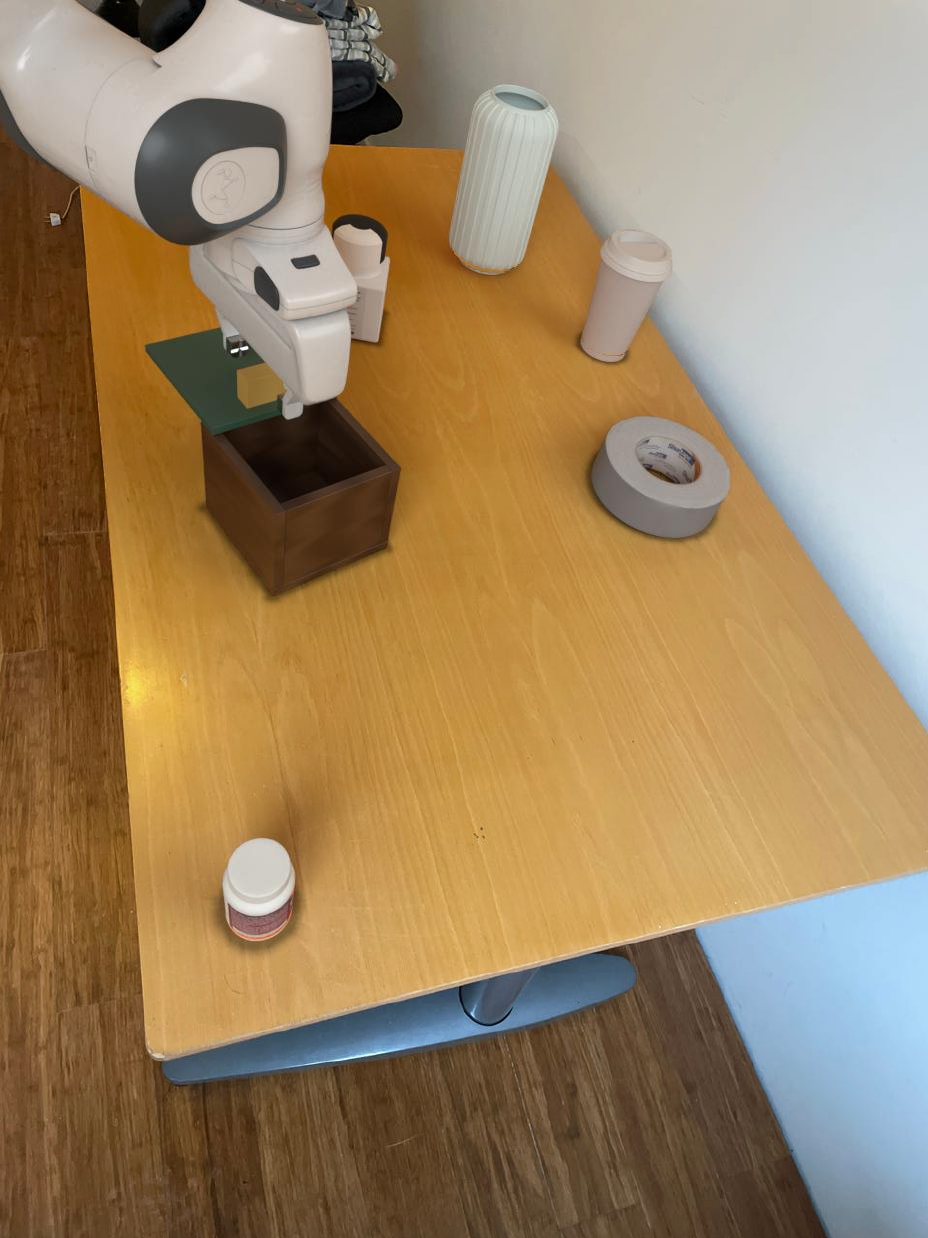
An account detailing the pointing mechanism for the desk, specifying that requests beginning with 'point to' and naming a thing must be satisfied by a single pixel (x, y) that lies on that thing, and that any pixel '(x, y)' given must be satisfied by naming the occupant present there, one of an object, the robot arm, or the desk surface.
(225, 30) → the robot arm
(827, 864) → the desk surface
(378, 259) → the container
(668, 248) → the coffee cup
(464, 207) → the vase
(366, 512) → the box
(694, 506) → the tape roll
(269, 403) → the lid
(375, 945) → the desk surface
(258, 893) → the pill bottle
